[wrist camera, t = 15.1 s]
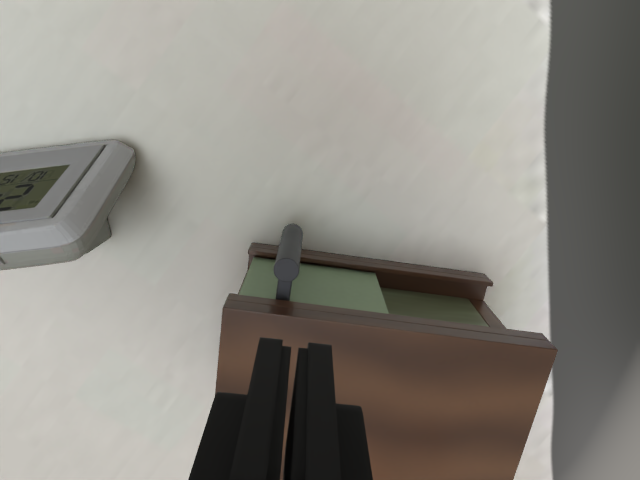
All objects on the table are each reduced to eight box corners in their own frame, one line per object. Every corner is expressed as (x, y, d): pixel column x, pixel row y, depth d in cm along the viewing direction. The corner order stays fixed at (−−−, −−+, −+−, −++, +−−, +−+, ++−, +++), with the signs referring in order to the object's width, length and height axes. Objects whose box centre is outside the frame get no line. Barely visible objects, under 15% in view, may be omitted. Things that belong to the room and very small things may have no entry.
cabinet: (251, 242, 34) (222, 307, 23) (484, 273, 35) (558, 349, 24) (237, 376, 37) (207, 486, 27) (449, 401, 38) (500, 517, 28)
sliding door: (258, 213, 32) (238, 253, 24) (383, 231, 32) (406, 275, 24) (252, 266, 33) (232, 320, 25) (373, 282, 33) (391, 340, 25)
